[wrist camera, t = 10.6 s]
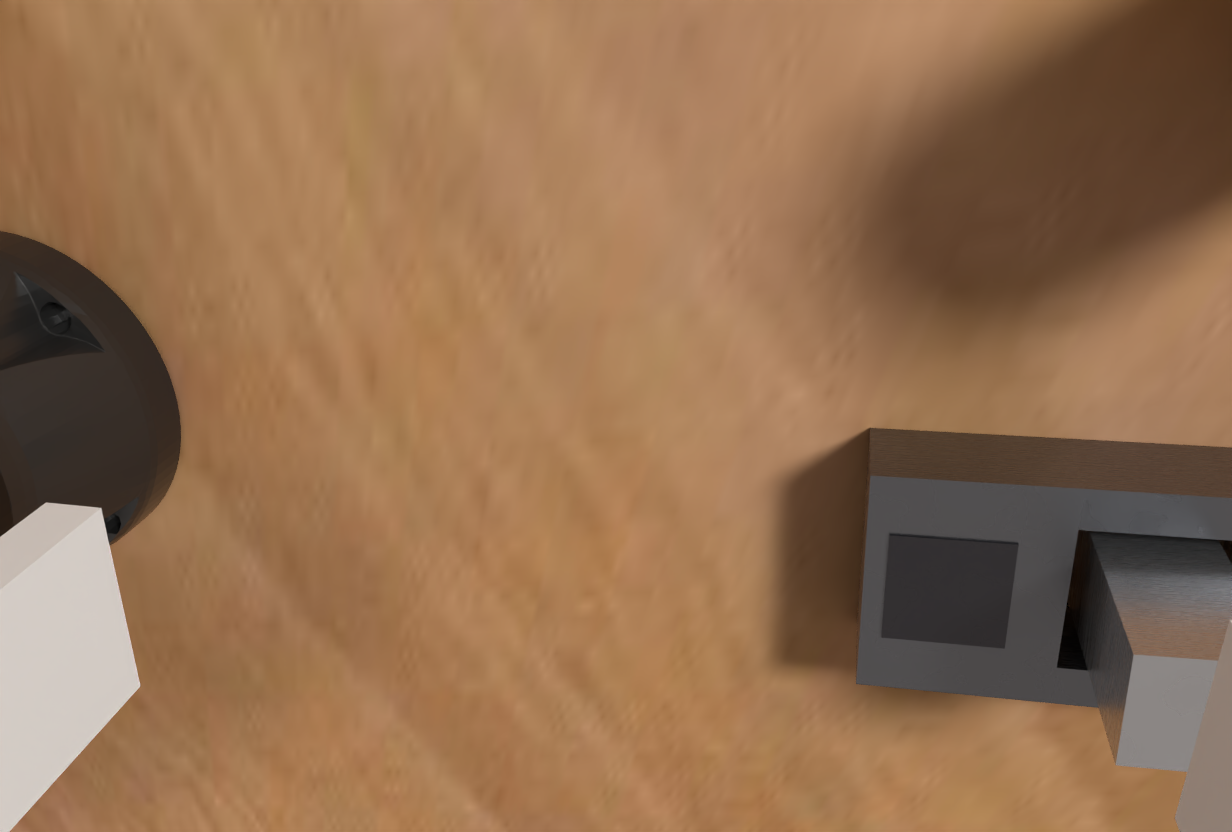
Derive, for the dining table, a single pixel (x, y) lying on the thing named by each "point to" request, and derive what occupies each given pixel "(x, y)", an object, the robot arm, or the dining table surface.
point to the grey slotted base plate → (1008, 551)
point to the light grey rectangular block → (1150, 638)
